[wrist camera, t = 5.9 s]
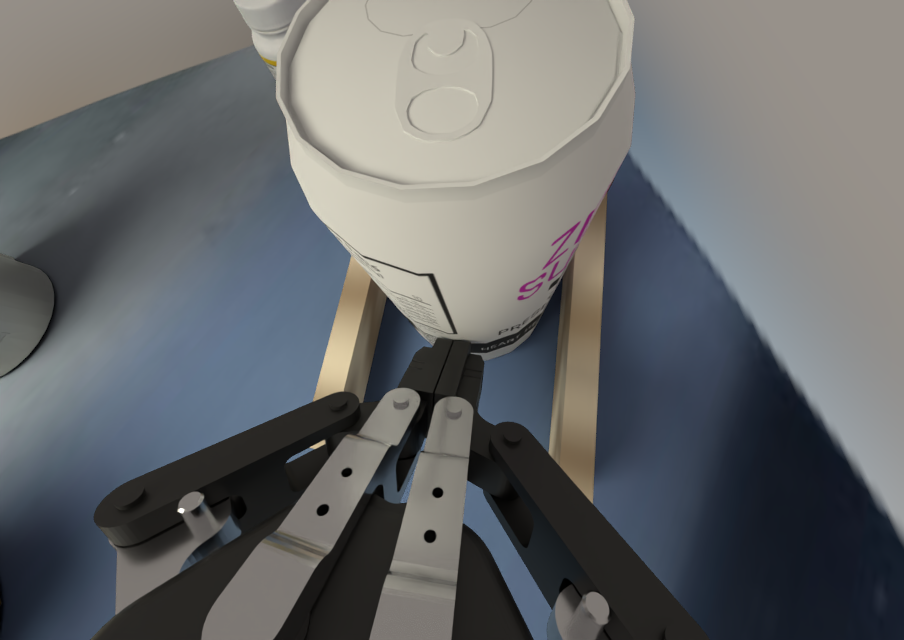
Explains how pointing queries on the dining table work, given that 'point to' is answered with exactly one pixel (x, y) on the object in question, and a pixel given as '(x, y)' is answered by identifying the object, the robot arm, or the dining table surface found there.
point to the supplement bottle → (268, 25)
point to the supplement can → (459, 146)
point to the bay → (573, 362)
